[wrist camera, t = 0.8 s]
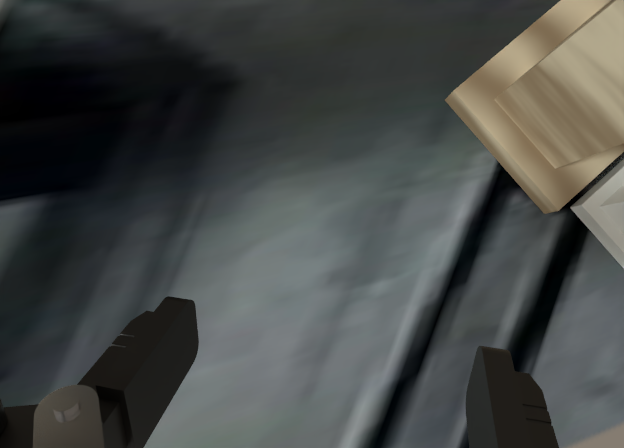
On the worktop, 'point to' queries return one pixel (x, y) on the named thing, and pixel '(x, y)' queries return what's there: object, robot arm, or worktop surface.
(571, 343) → the worktop surface
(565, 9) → the stand
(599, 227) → the pedestal
